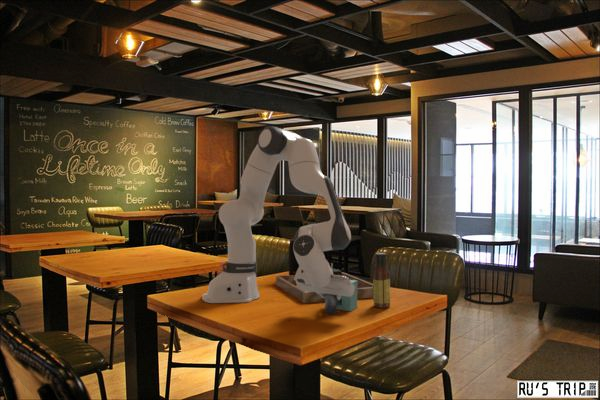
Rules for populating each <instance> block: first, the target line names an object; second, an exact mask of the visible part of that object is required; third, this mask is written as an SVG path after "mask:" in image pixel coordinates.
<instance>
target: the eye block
mask: <svg viewBox="0 0 600 400" xmlns="http://www.w3.org/2000/svg"><path fill="white" fill-rule="evenodd" d="M350 281H351V282H352V284H353V285H354V287H355V290H354V293H353V295H352V296H351V297H347V296H342V303H341V304H339V305H337V306H336V310H340V311H346V312H352V311H353V310H355V309H358V299H357V283H358V281H356V280H350Z"/></svg>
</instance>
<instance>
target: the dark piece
mask: <svg viewBox="0 0 600 400" xmlns="http://www.w3.org/2000/svg"><path fill="white" fill-rule="evenodd" d="M334 297H335V295H332V294H325V302H324V314H325V315H330V316H331V315H333V316H334V315H336V314H337V309H336V306H337V305H339V304H341V303H342V296H341V298H340V300H336V299H335V298H334Z"/></svg>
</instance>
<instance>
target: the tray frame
mask: <svg viewBox="0 0 600 400" xmlns="http://www.w3.org/2000/svg"><path fill="white" fill-rule="evenodd" d="M341 276H346V277H348V278H349V279H350V280H356V281H358V283H357V300H360V299H362V300H363V299H373V282H372V283H371V282H370V281H367V280H364V279H361V278H359V277H357V276H354V275H351V274H349V273H346V272H342V271H341ZM294 277H295V275H289V274H288V275H275V285H276V286H277V287H278V288H280V289H281V290H283V291H284V292H285V293H288V294H289V295H290V296H292V297H294V298H295V299H297V300H298V301H300V302H302V303H304V304H309V303H310V304H311V303H322V302H324V303H325V298H322V297H321V296H320V295H319V294H317V293H316V292H310V291H303V290H301V289H299V287H298V286H297V284H296V281H295V280H294Z"/></svg>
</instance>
